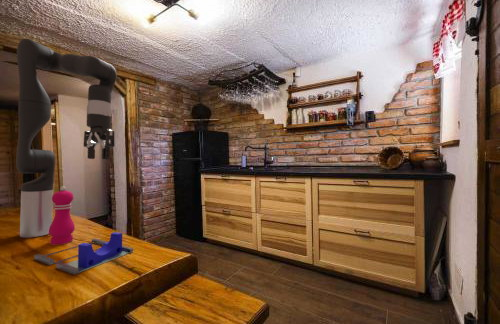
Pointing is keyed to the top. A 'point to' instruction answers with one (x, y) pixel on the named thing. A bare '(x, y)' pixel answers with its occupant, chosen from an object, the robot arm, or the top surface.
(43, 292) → the top surface
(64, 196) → the pepper mill
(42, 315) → the top surface
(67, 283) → the top surface
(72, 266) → the panel
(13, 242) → the top surface
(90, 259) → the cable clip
